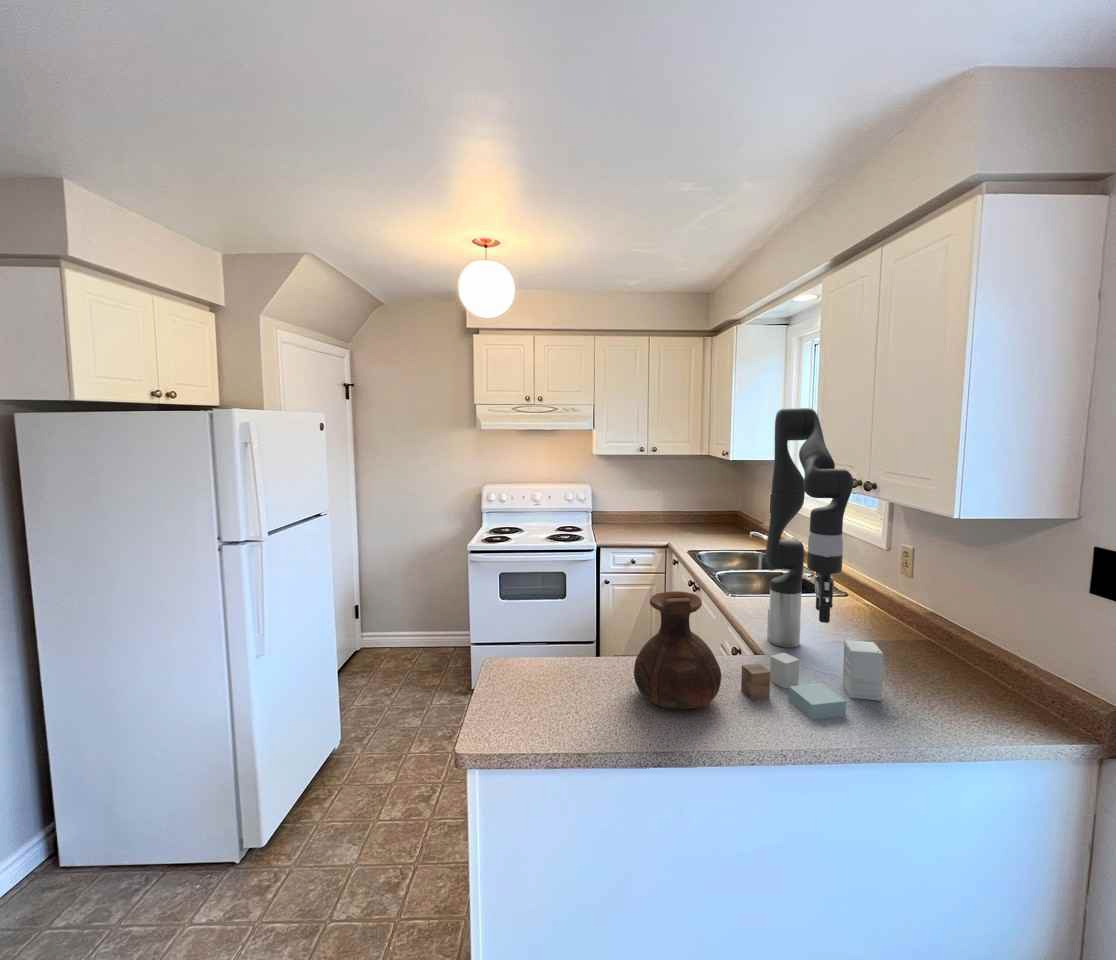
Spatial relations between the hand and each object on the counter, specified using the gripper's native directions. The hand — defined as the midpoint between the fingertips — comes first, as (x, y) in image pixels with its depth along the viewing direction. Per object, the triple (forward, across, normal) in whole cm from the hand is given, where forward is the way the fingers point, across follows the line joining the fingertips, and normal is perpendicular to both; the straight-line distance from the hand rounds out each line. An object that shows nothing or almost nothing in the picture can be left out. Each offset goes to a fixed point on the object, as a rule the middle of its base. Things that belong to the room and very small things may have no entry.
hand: (822, 615), depth 129 cm
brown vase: (+23, +10, -34) cm, 42 cm away
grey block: (+23, -9, -8) cm, 26 cm away
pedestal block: (+23, +2, -1) cm, 23 cm away
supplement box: (+23, -10, +11) cm, 27 cm away
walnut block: (+23, 0, -15) cm, 27 cm away
